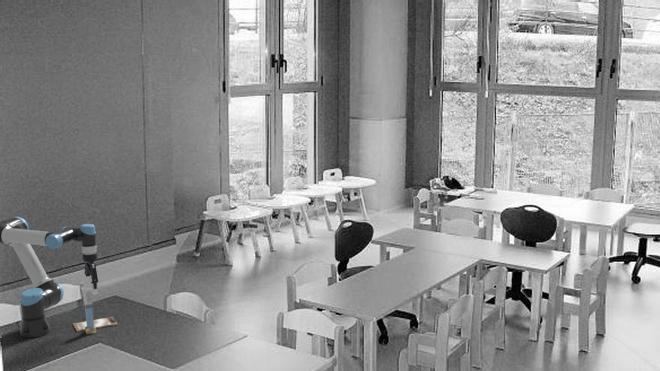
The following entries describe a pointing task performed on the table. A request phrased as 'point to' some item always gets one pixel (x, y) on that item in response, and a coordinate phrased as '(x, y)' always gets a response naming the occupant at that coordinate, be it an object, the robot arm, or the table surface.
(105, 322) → the clipboard
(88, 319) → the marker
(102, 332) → the table surface
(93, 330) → the stand
